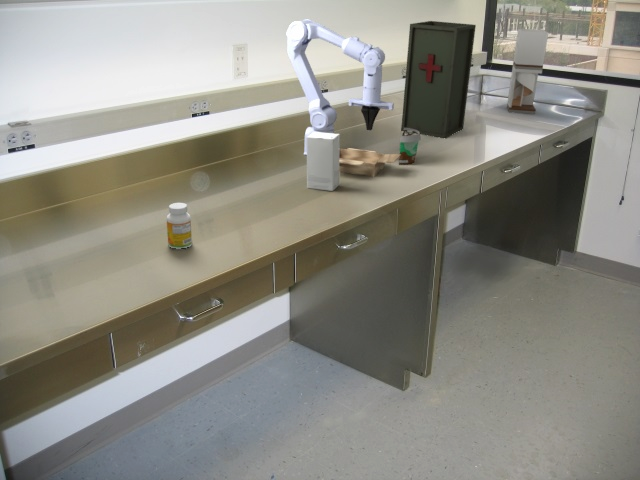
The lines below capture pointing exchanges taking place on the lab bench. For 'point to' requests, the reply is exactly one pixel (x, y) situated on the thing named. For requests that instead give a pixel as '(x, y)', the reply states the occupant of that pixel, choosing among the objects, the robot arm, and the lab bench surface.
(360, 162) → the flap
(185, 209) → the supplement bottle
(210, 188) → the lab bench surface
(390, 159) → the flap
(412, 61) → the first aid box
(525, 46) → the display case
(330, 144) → the skincare box
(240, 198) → the lab bench surface
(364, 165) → the carton
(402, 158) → the food container
